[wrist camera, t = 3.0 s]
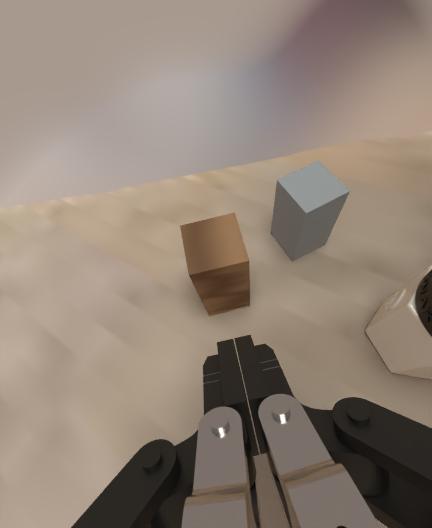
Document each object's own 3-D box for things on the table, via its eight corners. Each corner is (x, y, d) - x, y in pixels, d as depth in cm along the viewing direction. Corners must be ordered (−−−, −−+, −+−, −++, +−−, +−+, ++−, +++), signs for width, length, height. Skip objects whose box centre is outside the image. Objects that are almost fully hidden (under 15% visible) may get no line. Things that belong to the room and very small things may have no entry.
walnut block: (239, 270, 35) (234, 212, 24) (249, 306, 32) (249, 260, 22) (201, 279, 35) (180, 225, 24) (209, 316, 32) (189, 275, 22)
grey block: (302, 217, 37) (318, 160, 28) (325, 244, 35) (350, 191, 26) (270, 233, 37) (277, 179, 28) (292, 261, 34) (306, 213, 26)
